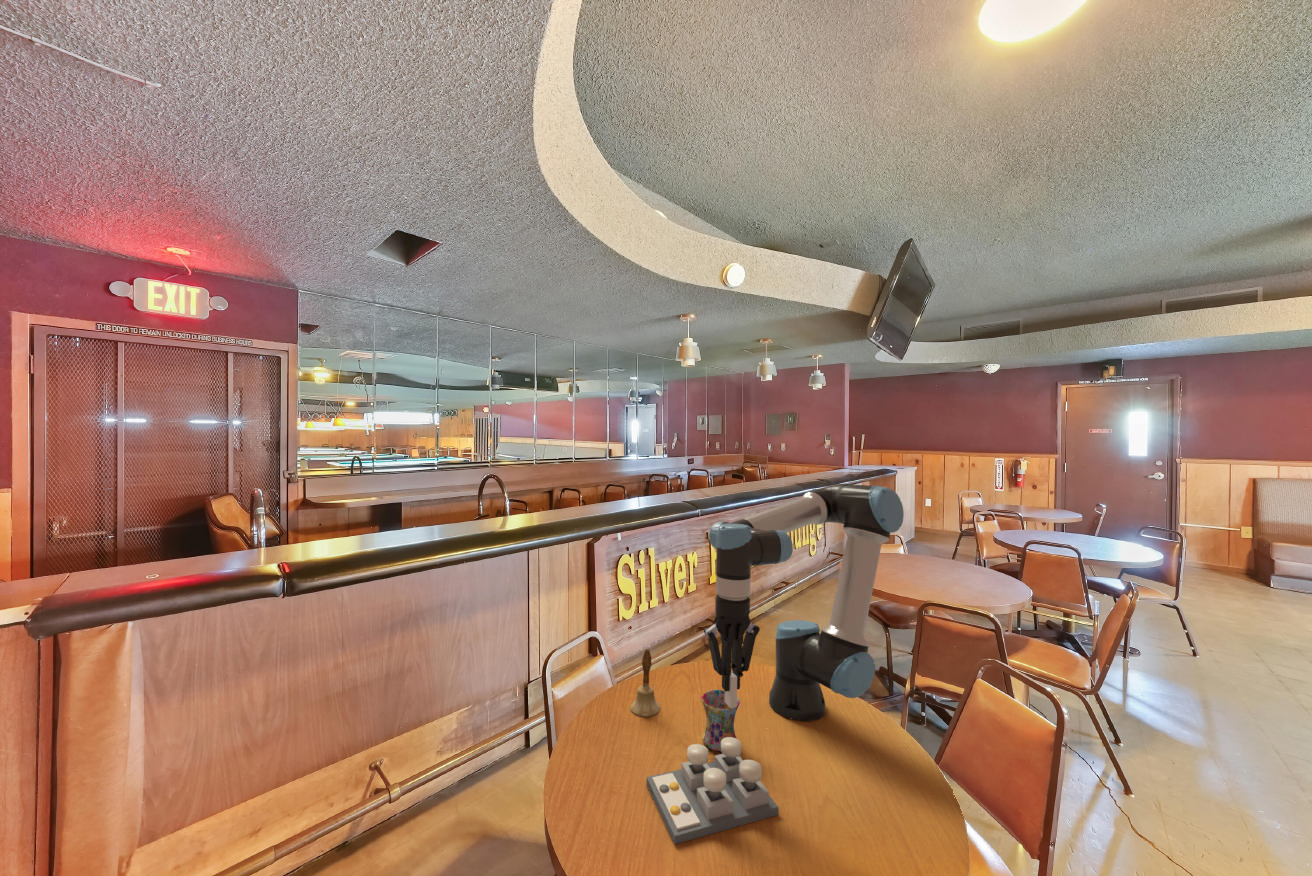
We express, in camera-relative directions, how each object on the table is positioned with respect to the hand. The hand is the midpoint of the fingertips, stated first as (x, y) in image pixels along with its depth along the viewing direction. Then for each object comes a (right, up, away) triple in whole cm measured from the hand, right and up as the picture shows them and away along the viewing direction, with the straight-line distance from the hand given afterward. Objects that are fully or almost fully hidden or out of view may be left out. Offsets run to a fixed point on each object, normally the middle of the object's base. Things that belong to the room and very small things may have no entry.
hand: (730, 704), depth 101 cm
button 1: (0, -12, 0) cm, 12 cm away
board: (-5, -16, -6) cm, 18 cm away
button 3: (-7, -12, -3) cm, 15 cm away
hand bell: (-19, -17, +27) cm, 37 cm away
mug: (-1, -17, +13) cm, 21 cm away
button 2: (+3, -12, -8) cm, 15 cm away
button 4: (-5, -12, -10) cm, 17 cm away
